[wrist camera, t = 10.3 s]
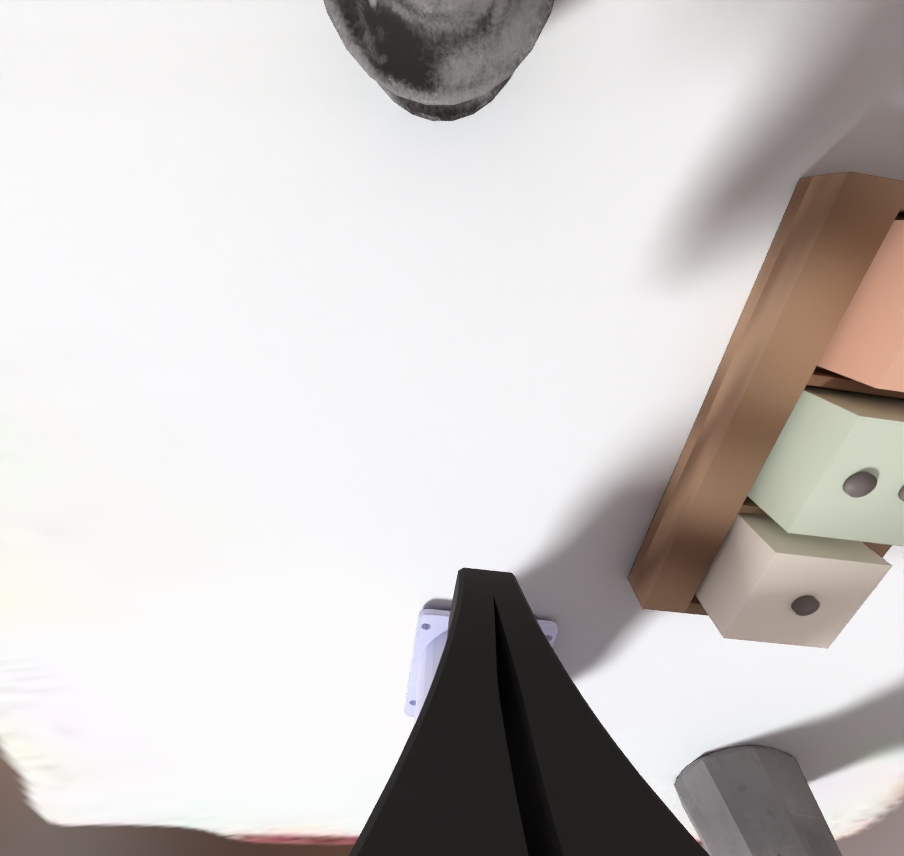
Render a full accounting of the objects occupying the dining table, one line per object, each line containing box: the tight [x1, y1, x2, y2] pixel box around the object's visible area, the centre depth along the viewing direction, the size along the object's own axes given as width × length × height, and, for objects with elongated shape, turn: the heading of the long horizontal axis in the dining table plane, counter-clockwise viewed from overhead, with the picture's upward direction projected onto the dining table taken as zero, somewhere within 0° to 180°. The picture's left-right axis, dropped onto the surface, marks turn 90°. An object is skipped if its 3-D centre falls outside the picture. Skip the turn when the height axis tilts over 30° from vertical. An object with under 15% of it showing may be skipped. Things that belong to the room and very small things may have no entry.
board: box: [628, 172, 904, 615], centre depth 18 cm, size 19×10×2 cm, turn 172°
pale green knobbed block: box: [747, 386, 904, 546], centre depth 17 cm, size 5×5×3 cm
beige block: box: [695, 512, 892, 648], centre depth 19 cm, size 5×5×3 cm
